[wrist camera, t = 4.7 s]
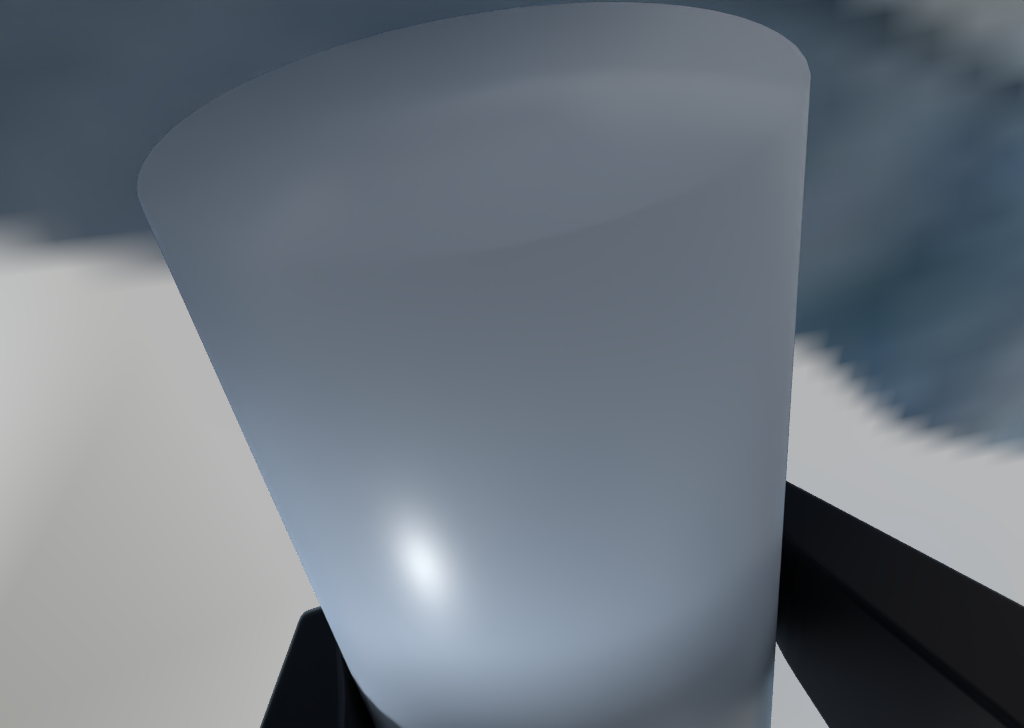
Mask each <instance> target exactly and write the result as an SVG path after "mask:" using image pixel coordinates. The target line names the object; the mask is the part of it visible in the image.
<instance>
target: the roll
mask: <svg viewBox="0 0 1024 728" xmlns="http://www.w3.org/2000/svg"><path fill="white" fill-rule="evenodd" d="M810 82H811V73H810V70H809V67H808V63H807V60H806V58H805V57H804V56H803V54H802V53H801V52H800V50H799V49H798V48H797V46H796V45H794V44H793V43H792V42H791V41H789V40H788V39H787V38H785V37H784V36H783V35H781V34H780V33H778V32H776V31H774V30H772V29H770V28H768V27H766V26H764V25H762V24H759V23H756V22H753V21H751V20H748V19H745V18H742V17H739V16H735V15H731V14H727V13H722V12H718V11H714V10H708V9H702V8H695V7H689V6H680V5H670V4H660V3H639V2H587V3H565V4H552V5H539V6H529V7H520V8H511V9H503V10H496V11H489V12H482V13H475V14H469V15H464V16H458V17H452V18H447V19H441V20H437V21H432V22H427V23H422V24H418V25H413V26H408V27H404V28H400V29H396V30H392V31H388V32H384V33H380V34H376V35H373V36H369V37H366V38H362V39H359V40H355V41H352V42H348V43H345V44H342V45H339V46H336V47H333V48H330V49H327V50H324V51H321V52H317V53H315V54H312V55H309V56H307V57H304V58H301V59H298V60H296V61H293V62H290V63H288V64H285V65H283V66H281V67H278V68H276V69H273V70H271V71H269V72H266V73H264V74H262V75H259V76H257V77H255V78H253V79H251V80H249V81H247V82H245V83H243V84H241V85H239V86H237V87H234V88H233V89H231V90H229V91H227V92H225V93H224V94H222V95H220V96H218V97H216V98H215V99H213V100H211V101H210V102H208V103H206V104H205V105H203V106H202V107H200V108H199V109H197V110H196V111H194V112H193V113H191V114H190V115H188V116H187V117H186V118H185V119H183V120H182V121H181V122H179V123H178V124H177V125H176V126H174V127H173V128H172V129H171V130H170V131H169V132H168V133H167V134H166V135H165V136H164V137H163V138H162V139H161V140H160V141H159V142H158V143H157V144H156V145H155V146H154V147H153V149H152V150H151V152H150V153H149V155H148V156H147V157H146V159H145V160H144V162H143V165H142V167H141V170H140V172H139V175H138V177H137V196H138V198H139V201H140V204H141V206H142V209H143V211H144V214H145V216H146V218H147V220H148V223H149V225H150V227H151V229H152V231H153V234H154V236H155V238H156V240H157V243H158V245H159V247H160V249H161V252H162V254H163V256H164V258H165V260H166V263H167V265H168V267H169V269H170V272H171V274H172V276H173V278H174V280H175V283H176V285H177V287H178V289H179V291H180V294H181V296H182V298H183V300H184V303H185V305H186V307H187V309H188V311H189V314H190V316H191V318H192V320H193V323H194V325H195V327H196V329H197V331H198V334H199V336H200V338H201V340H202V343H203V345H204V347H205V349H206V352H207V354H208V356H209V358H210V361H211V363H212V365H213V367H214V369H215V372H216V374H217V376H218V378H219V381H220V383H221V385H222V387H223V390H224V392H225V394H226V396H227V398H228V401H229V403H230V405H231V407H232V410H233V412H234V414H235V416H236V418H237V421H238V423H239V425H240V427H241V429H242V432H243V434H244V436H245V438H246V441H247V443H248V445H249V447H250V450H251V452H252V454H253V456H254V459H255V461H256V463H257V465H258V467H259V470H260V472H261V474H262V476H263V479H264V481H265V483H266V485H267V487H268V490H269V492H270V494H271V496H272V499H273V501H274V503H275V505H276V507H277V509H278V512H279V514H280V516H281V518H282V521H283V523H284V525H285V527H286V530H287V532H288V534H289V536H290V539H291V540H292V543H293V545H294V548H295V550H296V552H297V554H298V556H299V559H300V561H301V563H302V565H303V567H304V570H305V572H306V574H307V576H308V579H309V581H310V583H311V585H312V588H313V590H314V592H315V594H316V597H317V599H318V601H319V603H320V605H321V608H322V610H323V612H324V614H325V617H326V619H327V621H328V623H329V625H330V628H331V630H332V632H333V634H334V637H335V639H336V641H337V643H338V645H339V648H340V650H341V652H342V654H343V657H344V659H345V661H346V663H347V666H348V668H349V670H350V672H351V674H352V677H353V679H354V681H355V683H356V686H357V688H358V690H359V692H360V694H361V697H362V699H363V701H364V703H365V706H366V708H367V710H368V712H369V714H370V717H371V719H372V721H373V723H374V726H375V728H770V726H771V711H772V695H773V677H774V662H775V646H776V630H777V614H778V598H779V582H780V566H781V549H782V533H783V517H784V501H785V485H786V469H787V453H788V436H789V420H790V403H791V388H792V372H793V356H794V340H795V324H796V307H797V291H798V275H799V259H800V243H801V227H802V211H803V195H804V178H805V162H806V146H807V130H808V114H809V98H810Z"/></svg>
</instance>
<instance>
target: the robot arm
mask: <svg viewBox="0 0 1024 728" xmlns="http://www.w3.org/2000/svg"><path fill="white" fill-rule="evenodd" d="M776 642H777V644H778V646H779V648H780V650H781V652H782V654H783V656H784V657H785V659H786V661H787V663H788V664H789V666H790V667H791V669H792V671H793V672H794V674H795V676H796V677H797V679H798V680H799V682H800V683H801V685H802V686H803V688H804V690H805V691H806V693H807V694H808V696H809V697H810V698H811V700H812V702H813V703H814V705H815V707H816V708H817V709H818V711H819V713H820V714H821V716H822V717H823V719H824V720H825V722H826V723H827V725H828V727H829V728H1024V606H1022V605H1020V604H1018V603H1016V602H1015V601H1012V600H1011V599H1009V598H1007V597H1005V596H1003V595H1001V594H999V593H998V592H996V591H994V590H992V589H990V588H988V587H986V586H984V585H982V584H981V583H979V582H977V581H975V580H973V579H971V578H969V577H967V576H965V575H963V574H961V573H959V572H958V571H956V570H954V569H952V568H950V567H948V566H946V565H944V564H943V563H941V562H939V561H937V560H935V559H933V558H931V557H929V556H927V555H926V554H924V553H922V552H920V551H918V550H916V549H914V548H912V547H910V546H908V545H907V544H905V543H903V542H901V541H899V540H897V539H895V538H893V537H891V536H890V535H888V534H886V533H884V532H882V531H880V530H878V529H876V528H874V527H873V526H870V525H869V524H867V523H865V522H863V521H861V520H859V519H857V518H856V517H854V516H852V515H850V514H848V513H846V512H844V511H842V510H840V509H839V508H836V507H835V506H833V505H831V504H829V503H827V502H825V501H823V500H822V499H820V498H818V497H816V496H814V495H812V494H810V493H808V492H806V491H804V490H803V489H801V488H799V487H797V486H795V485H793V484H791V483H789V482H787V481H786V485H785V501H784V517H783V533H782V549H781V566H780V582H779V598H778V614H777V630H776ZM260 728H375V726H374V723H373V721H372V719H371V717H370V714H369V712H368V710H367V708H366V706H365V703H364V701H363V699H362V697H361V694H360V692H359V690H358V688H357V686H356V683H355V681H354V679H353V677H352V674H351V672H350V670H349V668H348V666H347V663H346V661H345V659H344V657H343V654H342V652H341V650H340V648H339V645H338V643H337V641H336V639H335V637H334V634H333V632H332V630H331V628H330V625H329V623H328V621H327V619H326V617H325V614H324V612H323V610H322V608H321V606H320V607H317V608H313V609H310V610H308V611H306V612H304V613H303V615H302V616H301V617H300V620H299V622H298V625H297V627H296V630H295V633H294V635H293V638H292V641H291V644H290V647H289V649H288V652H287V655H286V658H285V660H284V663H283V666H282V669H281V671H280V674H279V677H278V680H277V682H276V685H275V688H274V691H273V693H272V696H271V699H270V702H269V704H268V707H267V710H266V713H265V716H264V718H263V721H262V724H261V726H260Z"/></svg>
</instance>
